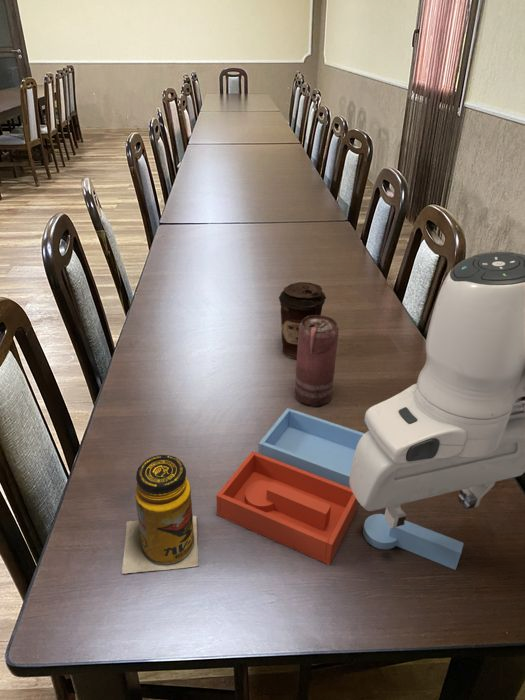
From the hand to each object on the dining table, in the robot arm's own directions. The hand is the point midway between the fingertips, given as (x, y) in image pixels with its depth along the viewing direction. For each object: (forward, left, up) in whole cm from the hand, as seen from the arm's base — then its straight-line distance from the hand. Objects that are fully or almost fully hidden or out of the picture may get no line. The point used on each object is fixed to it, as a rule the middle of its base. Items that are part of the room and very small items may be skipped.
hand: (431, 513), depth 60 cm
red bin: (+16, +2, -7) cm, 18 cm away
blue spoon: (+1, 0, -7) cm, 7 cm away
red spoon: (+17, +2, -6) cm, 18 cm away
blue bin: (+16, -9, -7) cm, 20 cm away
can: (+23, -22, -7) cm, 33 cm away
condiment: (+27, +14, -7) cm, 31 cm away
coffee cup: (+31, -34, -7) cm, 47 cm away
